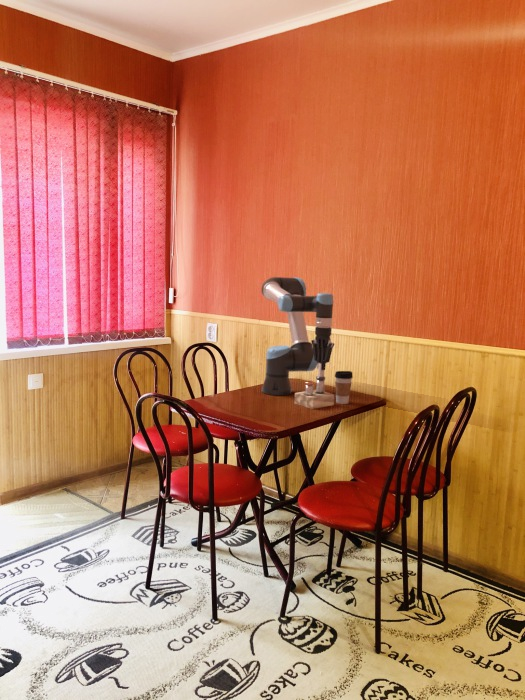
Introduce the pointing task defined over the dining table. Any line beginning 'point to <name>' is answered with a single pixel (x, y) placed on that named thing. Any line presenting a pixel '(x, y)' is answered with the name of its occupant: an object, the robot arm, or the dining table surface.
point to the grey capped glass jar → (320, 385)
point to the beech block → (314, 399)
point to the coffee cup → (343, 386)
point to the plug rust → (309, 388)
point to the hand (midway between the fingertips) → (320, 376)
